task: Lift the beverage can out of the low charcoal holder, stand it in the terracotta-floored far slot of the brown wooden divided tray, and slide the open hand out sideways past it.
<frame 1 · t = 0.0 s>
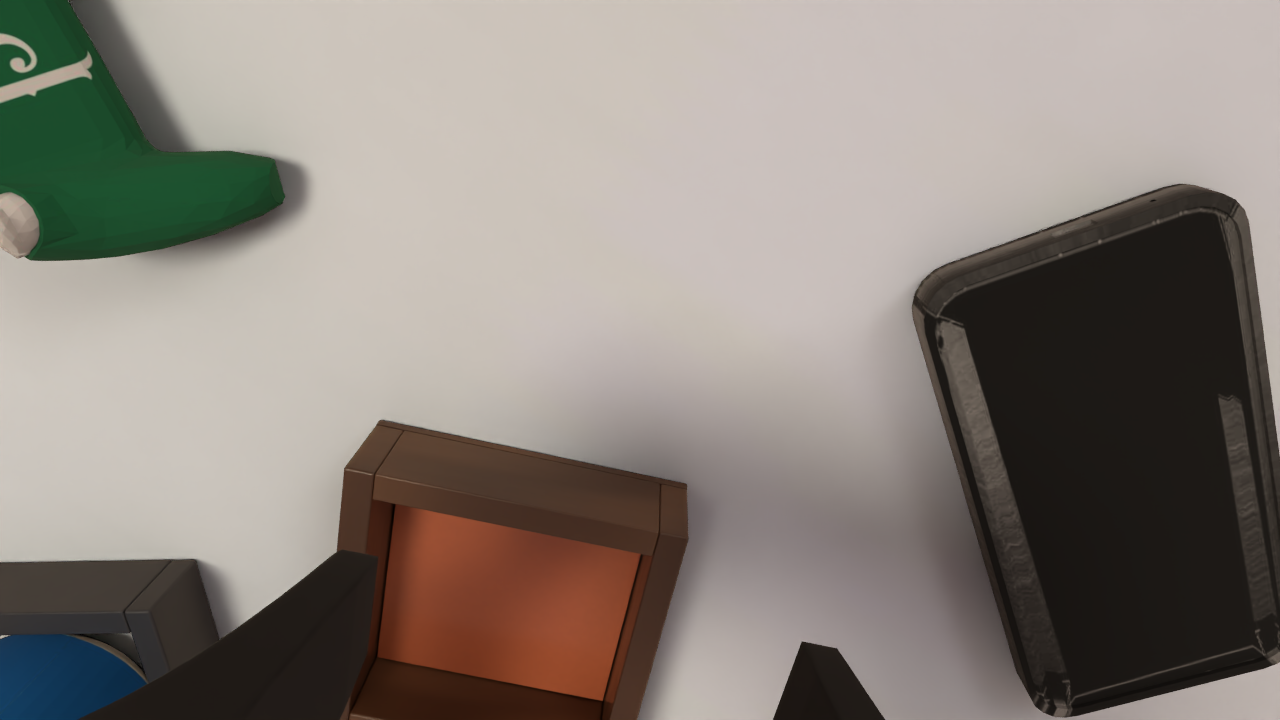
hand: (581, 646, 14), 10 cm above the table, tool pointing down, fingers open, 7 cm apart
beverage can: (88, 687, 28), resting in holder
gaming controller: (116, 60, 20), on the table
brown wooden divided tray: (491, 678, 27), on the table
phone: (1104, 466, 23), on the table
holder: (84, 691, 28), on the table
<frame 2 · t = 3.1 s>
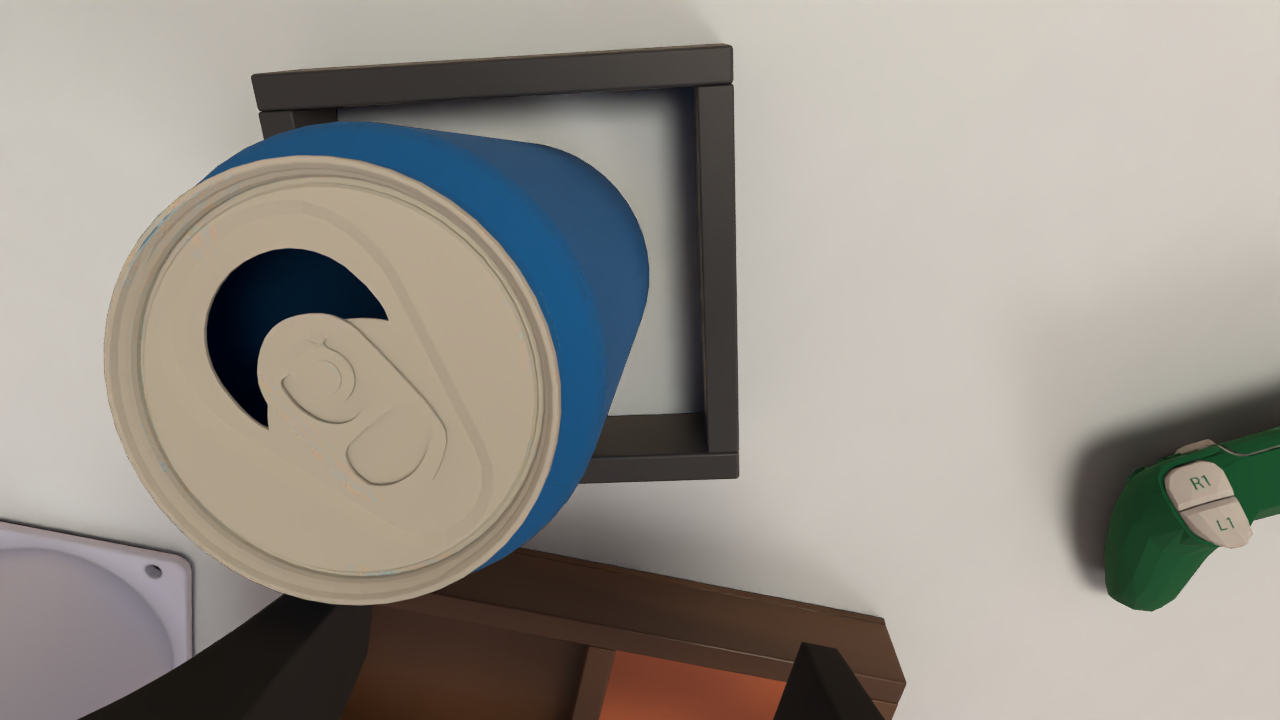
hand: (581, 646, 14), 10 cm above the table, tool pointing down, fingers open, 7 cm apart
beverage can: (529, 269, 22), resting in holder
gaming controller: (1241, 463, 24), on the table
brown wooden divided tray: (588, 676, 27), on the table
holder: (531, 266, 22), on the table
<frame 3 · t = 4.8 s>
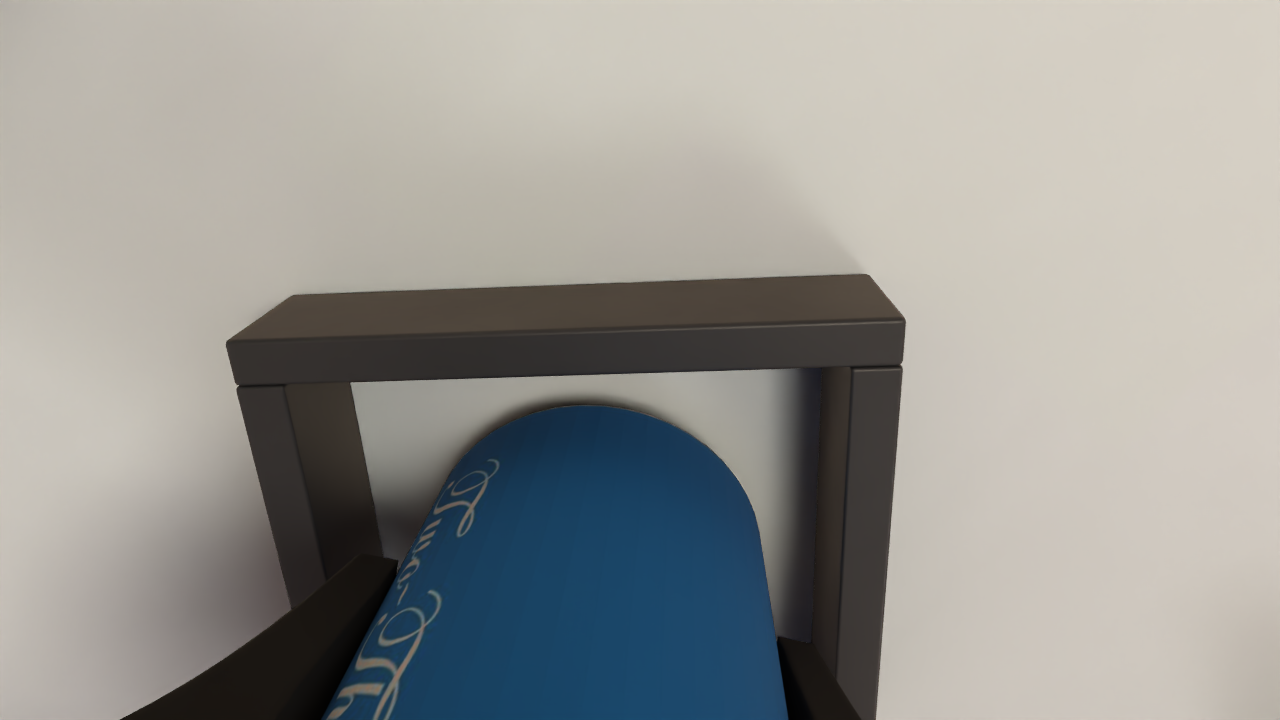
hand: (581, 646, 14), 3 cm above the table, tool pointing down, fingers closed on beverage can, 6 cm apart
beverage can: (599, 525, 17), resting in holder, touching gripper
holder: (595, 531, 17), on the table
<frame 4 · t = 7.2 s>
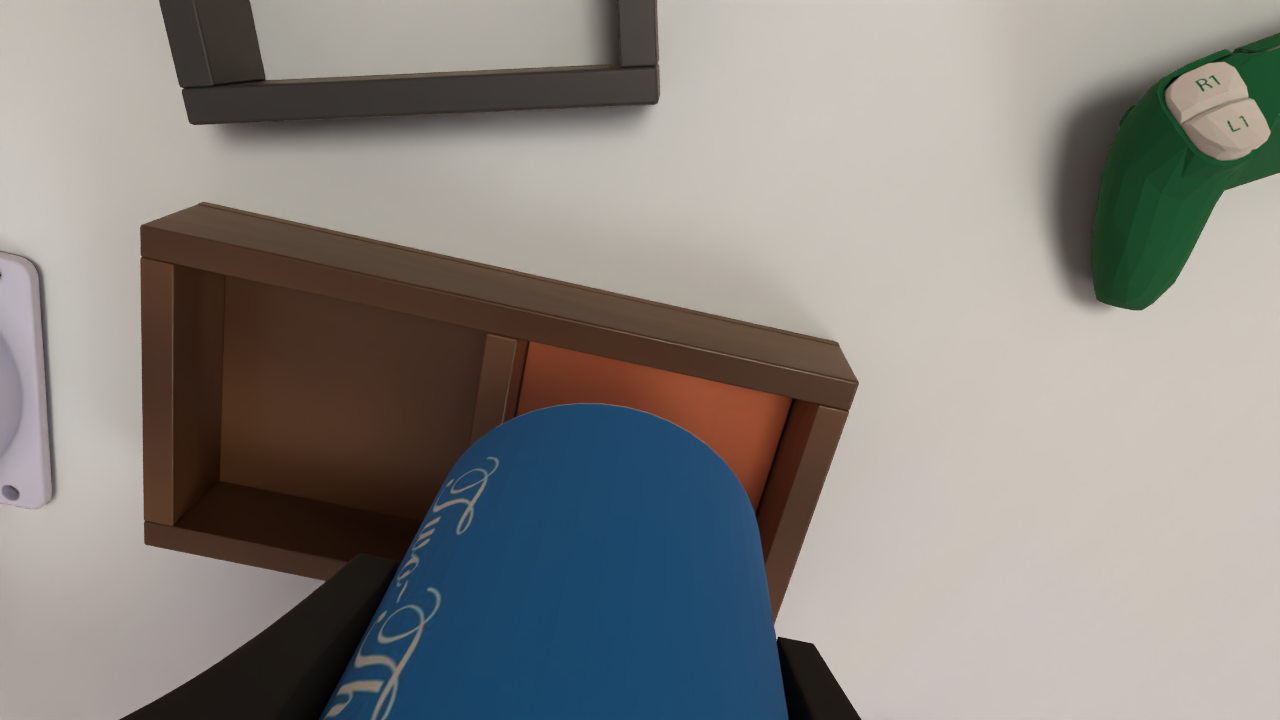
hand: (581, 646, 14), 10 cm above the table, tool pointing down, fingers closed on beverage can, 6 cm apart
beverage can: (599, 523, 17), point 7 cm above the table, touching gripper
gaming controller: (1252, 137, 20), on the table
brown wooden divided tray: (501, 421, 24), on the table
when the fingers open (4 cm above the table, at t = 9.9 s): beverage can stays where it is, resting on brown wooden divided tray.
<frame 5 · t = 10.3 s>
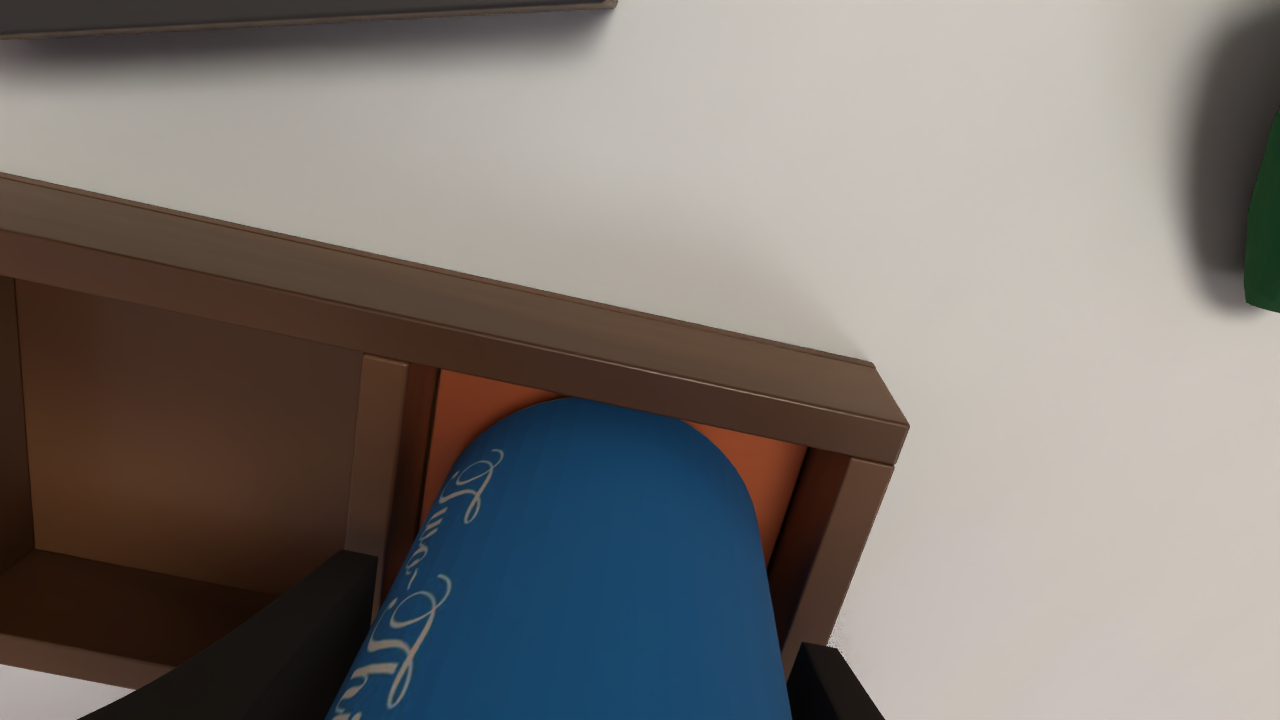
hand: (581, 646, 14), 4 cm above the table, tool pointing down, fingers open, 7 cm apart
beverage can: (600, 515, 17), resting on brown wooden divided tray
brown wooden divided tray: (410, 469, 17), on the table
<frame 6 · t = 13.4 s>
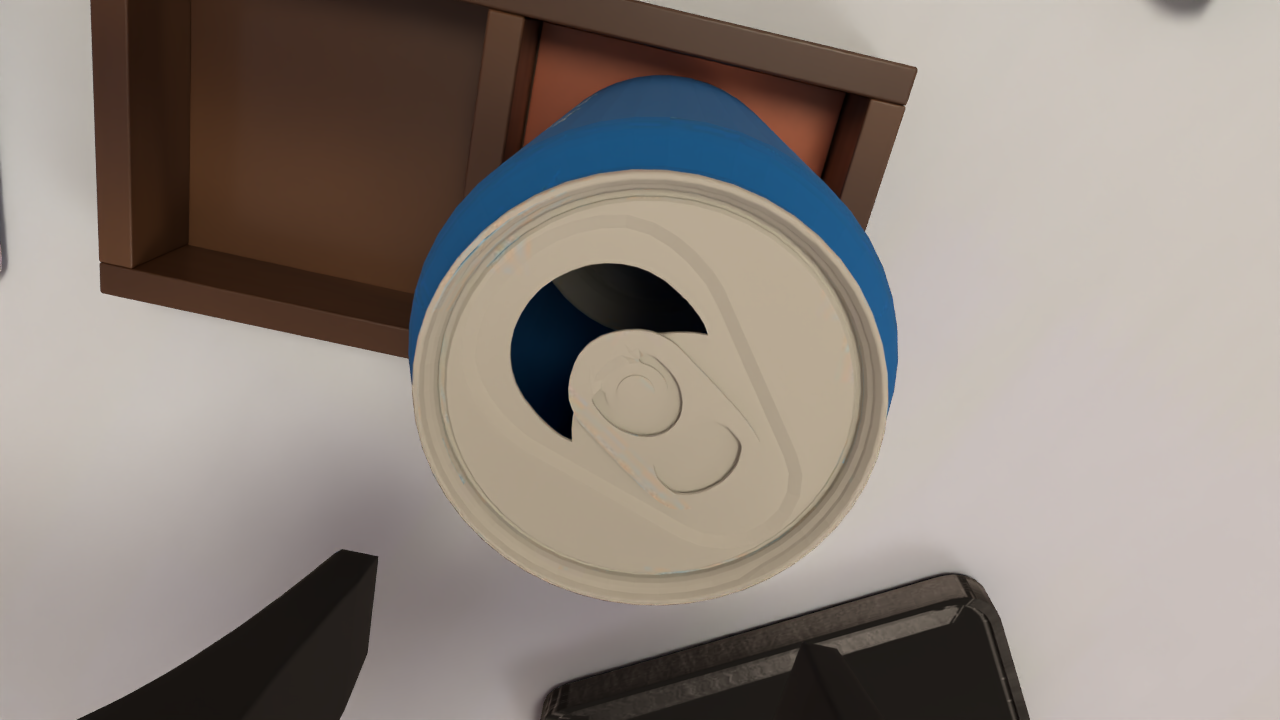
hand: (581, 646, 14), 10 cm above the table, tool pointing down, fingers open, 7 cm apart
beverage can: (661, 206, 21), resting on brown wooden divided tray
brown wooden divided tray: (504, 169, 21), on the table
phone: (781, 716, 28), on the table
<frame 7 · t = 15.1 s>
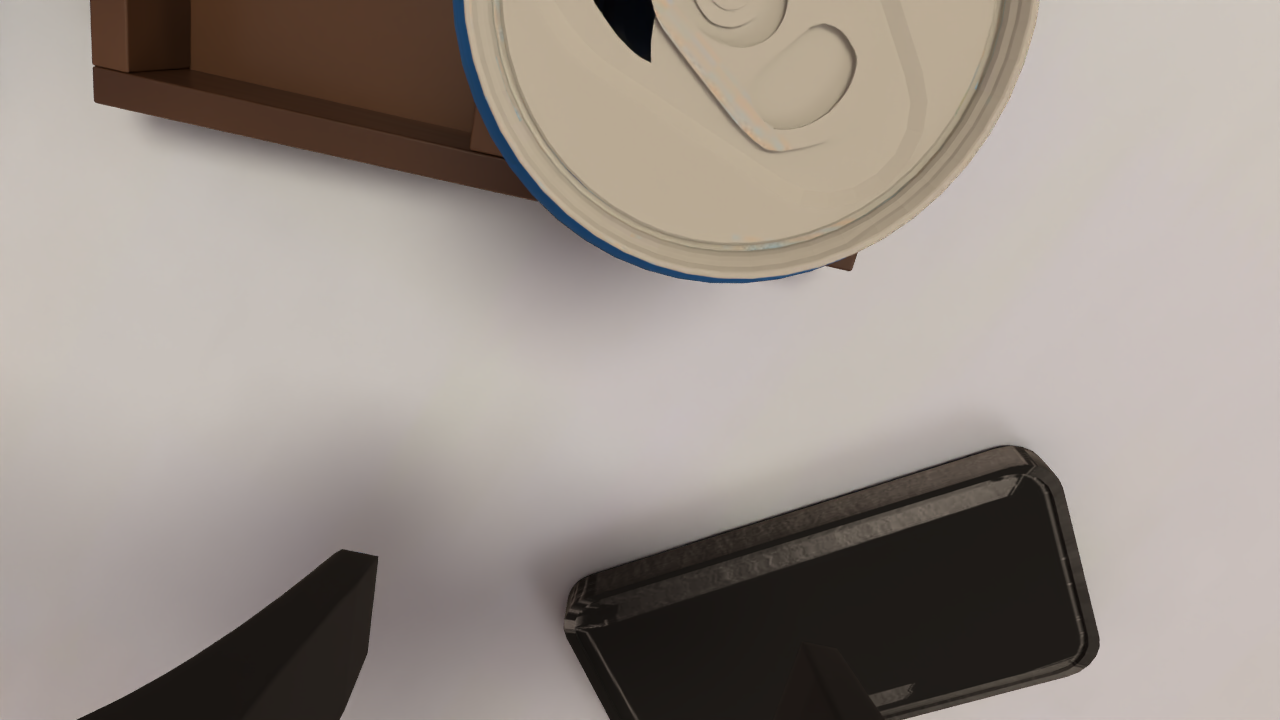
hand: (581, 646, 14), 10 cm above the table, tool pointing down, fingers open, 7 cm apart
beverage can: (703, 19, 19), resting on brown wooden divided tray
phone: (822, 610, 26), on the table
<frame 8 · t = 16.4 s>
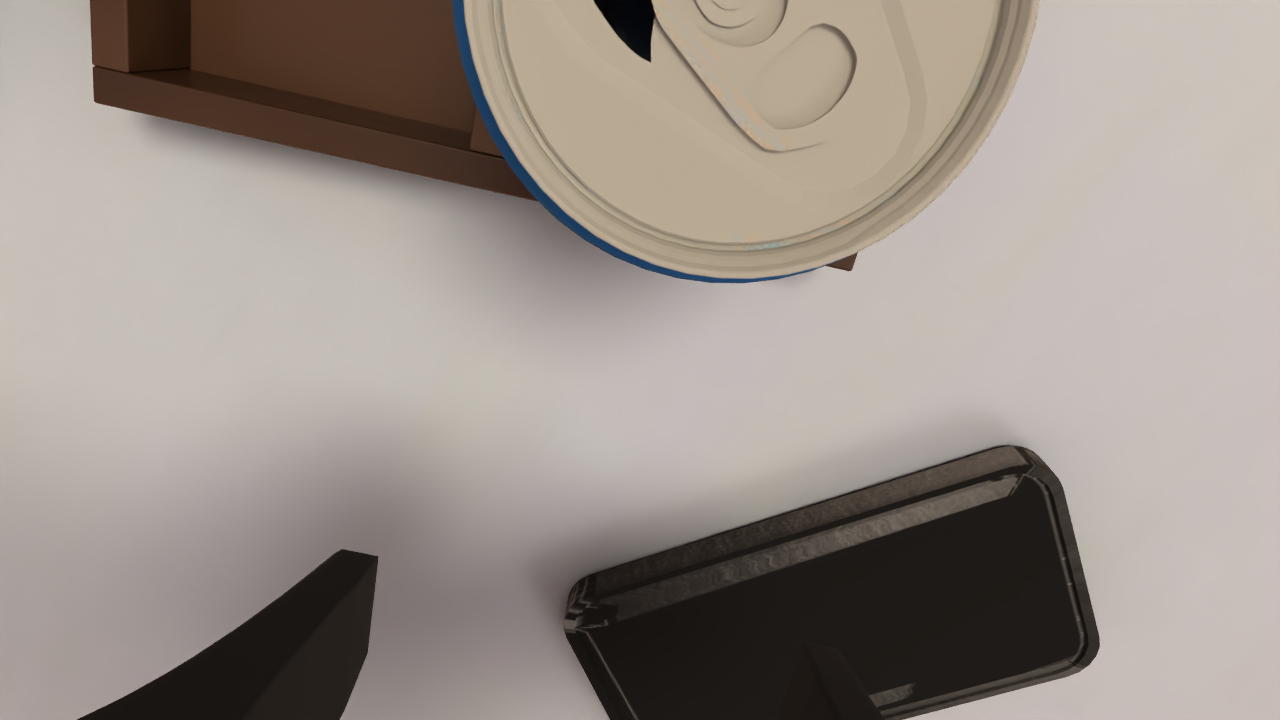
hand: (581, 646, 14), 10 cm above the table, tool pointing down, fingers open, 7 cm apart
beverage can: (703, 19, 19), resting on brown wooden divided tray
phone: (822, 610, 26), on the table
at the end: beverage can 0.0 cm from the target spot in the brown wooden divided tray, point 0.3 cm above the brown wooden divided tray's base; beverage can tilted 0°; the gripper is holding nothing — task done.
